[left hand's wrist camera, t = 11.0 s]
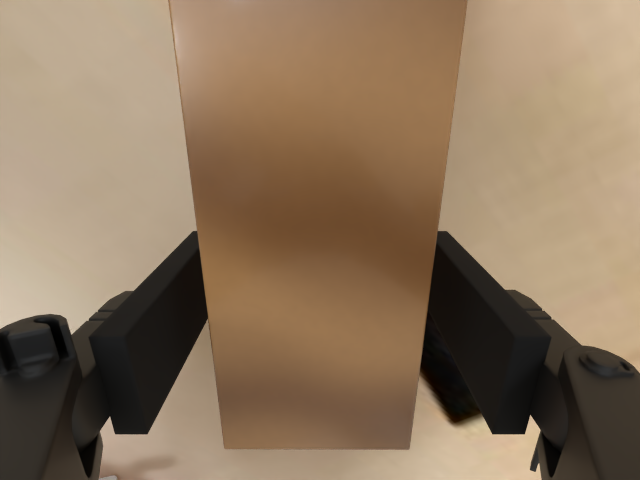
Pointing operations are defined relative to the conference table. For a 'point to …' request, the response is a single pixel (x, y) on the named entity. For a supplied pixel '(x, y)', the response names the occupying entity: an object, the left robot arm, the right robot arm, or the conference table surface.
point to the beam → (317, 206)
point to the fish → (109, 478)
